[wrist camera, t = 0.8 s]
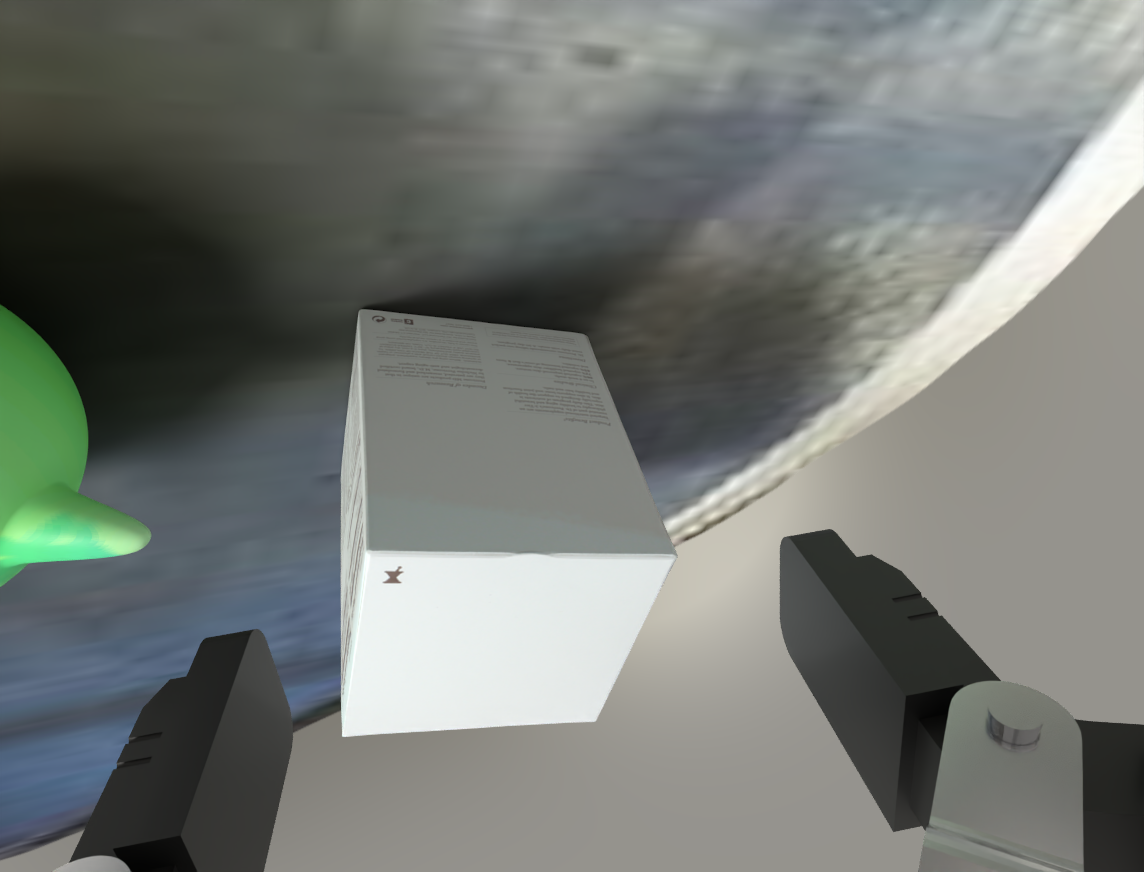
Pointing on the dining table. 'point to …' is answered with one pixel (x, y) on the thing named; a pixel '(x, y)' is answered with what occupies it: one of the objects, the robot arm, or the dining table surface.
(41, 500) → the toy bird
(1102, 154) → the dining table surface
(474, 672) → the supplement box
